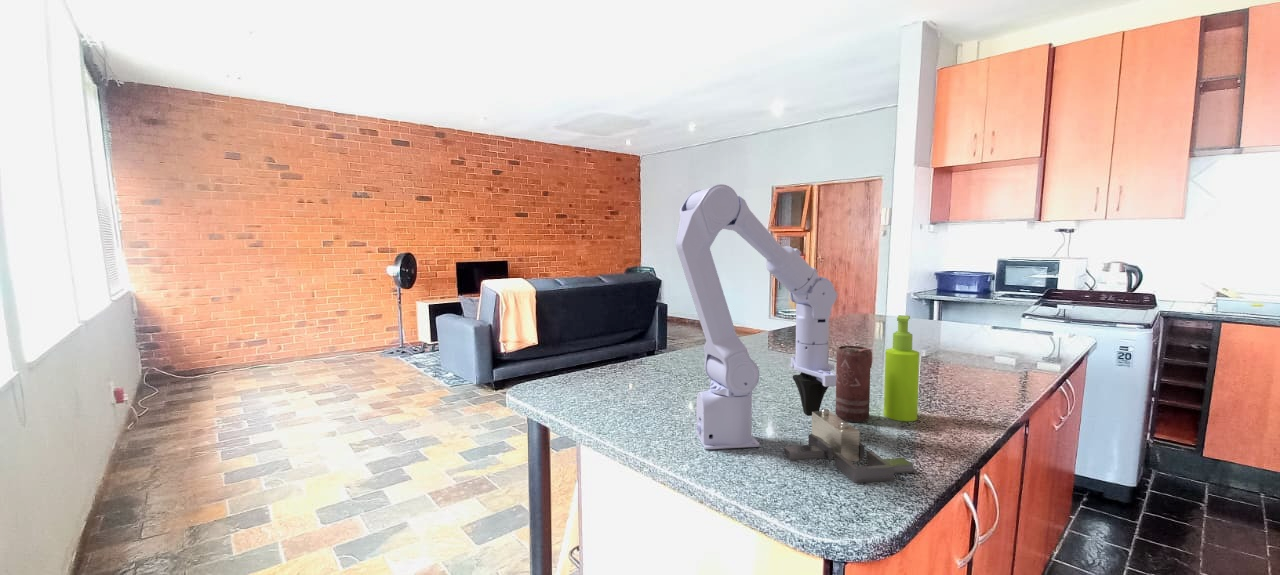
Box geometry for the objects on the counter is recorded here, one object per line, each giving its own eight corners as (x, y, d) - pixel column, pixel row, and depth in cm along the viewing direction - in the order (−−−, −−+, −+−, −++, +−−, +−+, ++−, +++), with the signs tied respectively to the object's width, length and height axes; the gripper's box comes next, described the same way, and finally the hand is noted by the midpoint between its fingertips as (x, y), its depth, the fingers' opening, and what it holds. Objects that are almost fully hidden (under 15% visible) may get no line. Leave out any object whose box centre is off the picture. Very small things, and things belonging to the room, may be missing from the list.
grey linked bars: (813, 485, 70) (814, 471, 70) (777, 447, 84) (777, 435, 84) (922, 478, 72) (922, 465, 72) (869, 442, 86) (869, 430, 85)
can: (874, 424, 94) (876, 351, 93) (838, 422, 95) (840, 350, 94) (866, 413, 100) (867, 345, 99) (833, 412, 101) (834, 344, 100)
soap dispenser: (918, 413, 100) (921, 315, 99) (916, 423, 94) (919, 319, 93) (886, 408, 103) (888, 313, 102) (882, 418, 97) (884, 317, 96)
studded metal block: (840, 463, 78) (841, 427, 77) (811, 439, 88) (812, 407, 87) (858, 461, 78) (859, 426, 78) (827, 438, 88) (828, 406, 88)
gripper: (853, 348, 84) (852, 427, 85) (815, 334, 98) (814, 401, 99) (813, 350, 83) (812, 429, 84) (780, 335, 97) (779, 403, 98)
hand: (810, 414), depth 91 cm, fingers closed
